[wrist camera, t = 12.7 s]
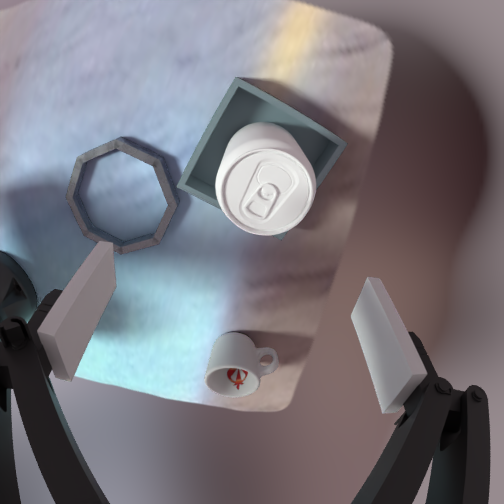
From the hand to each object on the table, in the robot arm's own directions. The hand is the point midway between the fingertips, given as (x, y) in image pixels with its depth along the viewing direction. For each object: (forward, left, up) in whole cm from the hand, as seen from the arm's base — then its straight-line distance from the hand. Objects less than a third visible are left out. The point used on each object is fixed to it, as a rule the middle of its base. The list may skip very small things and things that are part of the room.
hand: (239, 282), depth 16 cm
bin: (+1, +2, -23) cm, 23 cm away
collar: (-12, -11, -23) cm, 28 cm away
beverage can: (+1, +2, -22) cm, 22 cm away
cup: (+13, -25, -23) cm, 36 cm away
